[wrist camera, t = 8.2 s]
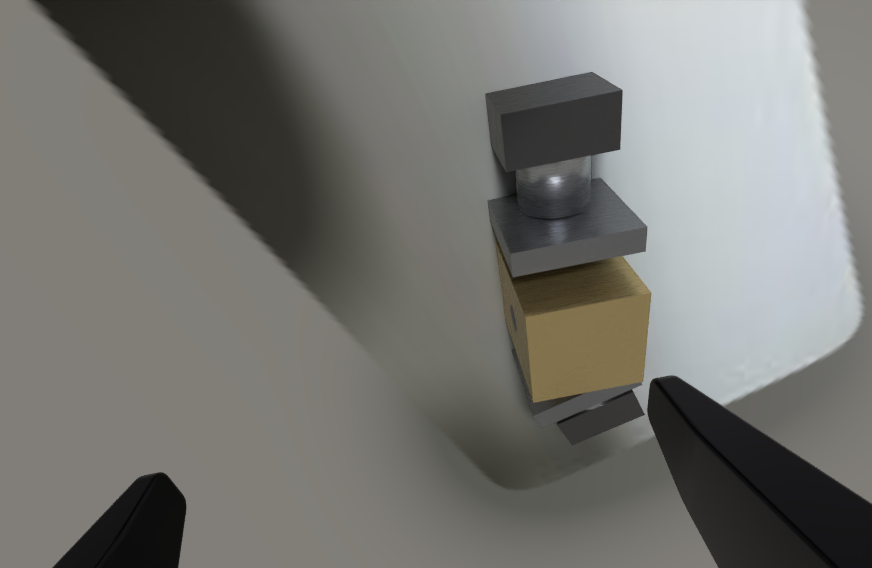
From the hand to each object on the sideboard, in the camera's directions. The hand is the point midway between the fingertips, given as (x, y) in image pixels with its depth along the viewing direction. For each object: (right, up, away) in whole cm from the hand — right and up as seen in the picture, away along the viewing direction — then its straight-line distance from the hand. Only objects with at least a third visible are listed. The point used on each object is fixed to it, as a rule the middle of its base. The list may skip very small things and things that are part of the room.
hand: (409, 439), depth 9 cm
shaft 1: (+8, -1, +17) cm, 19 cm away
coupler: (+6, +3, +14) cm, 16 cm away
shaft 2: (+5, +8, +11) cm, 14 cm away
